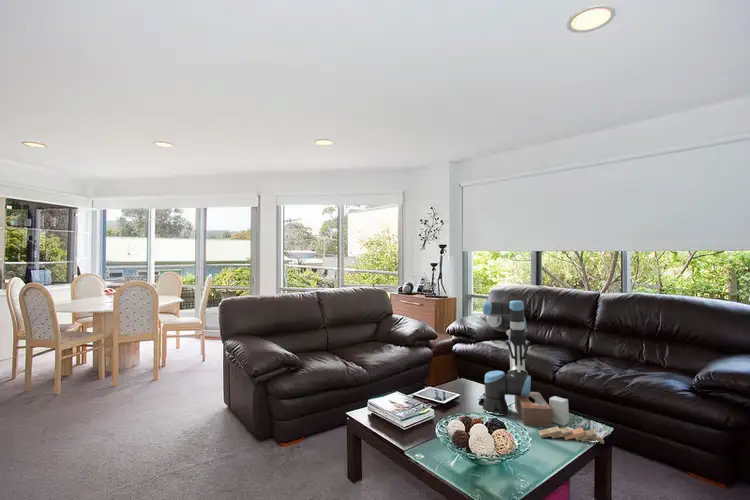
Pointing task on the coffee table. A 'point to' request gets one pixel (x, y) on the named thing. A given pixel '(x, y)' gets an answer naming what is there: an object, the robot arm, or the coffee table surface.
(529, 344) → the robot arm
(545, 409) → the tissue box cover
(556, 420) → the small box
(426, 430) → the coffee table surface
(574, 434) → the terracotta domino
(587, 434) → the domino
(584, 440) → the domino
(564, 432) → the domino
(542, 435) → the domino
